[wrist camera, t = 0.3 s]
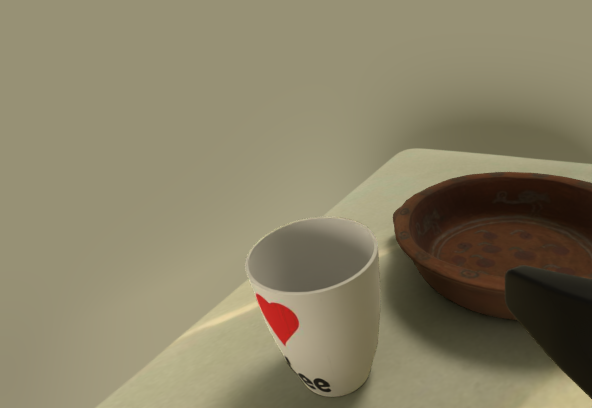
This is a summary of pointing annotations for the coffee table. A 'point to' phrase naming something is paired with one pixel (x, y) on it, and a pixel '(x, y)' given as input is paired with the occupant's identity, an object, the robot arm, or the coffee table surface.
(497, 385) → the coffee table surface
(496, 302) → the dish
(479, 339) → the coffee table surface
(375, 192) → the coffee table surface
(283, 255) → the cup
